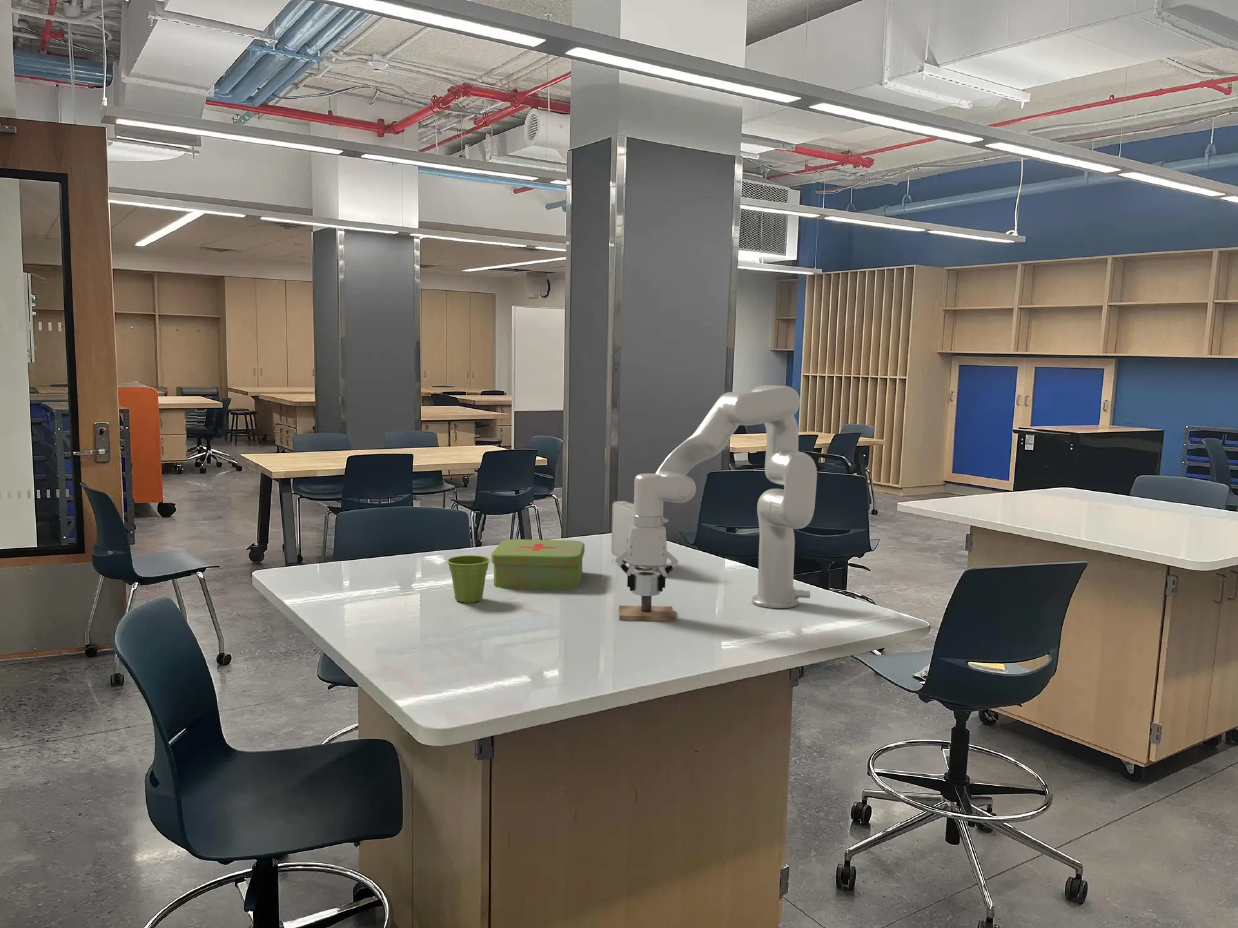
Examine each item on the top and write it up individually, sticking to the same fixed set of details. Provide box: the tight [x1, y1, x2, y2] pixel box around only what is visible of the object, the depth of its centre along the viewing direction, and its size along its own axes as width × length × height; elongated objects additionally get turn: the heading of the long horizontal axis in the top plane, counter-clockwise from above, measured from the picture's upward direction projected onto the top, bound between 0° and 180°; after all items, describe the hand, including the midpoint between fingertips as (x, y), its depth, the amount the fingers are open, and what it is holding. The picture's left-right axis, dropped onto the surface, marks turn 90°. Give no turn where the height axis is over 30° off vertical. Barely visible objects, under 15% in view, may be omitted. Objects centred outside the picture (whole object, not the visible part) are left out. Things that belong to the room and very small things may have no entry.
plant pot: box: [446, 554, 492, 604], centre depth 244 cm, size 12×12×11 cm
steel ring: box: [631, 570, 661, 597], centre depth 231 cm, size 7×7×5 cm
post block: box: [618, 596, 676, 622], centre depth 232 cm, size 14×10×6 cm
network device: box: [611, 500, 657, 572], centre depth 291 cm, size 26×9×20 cm, turn 25°
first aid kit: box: [491, 538, 586, 590], centre depth 271 cm, size 26×26×10 cm
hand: (646, 589), depth 231 cm, fingers closed on steel ring, 7 cm apart
